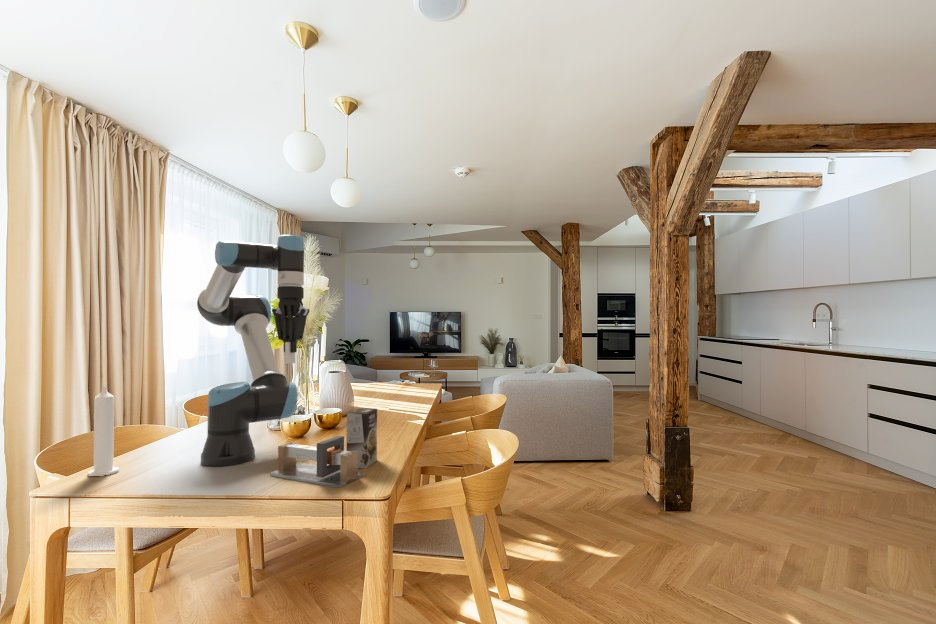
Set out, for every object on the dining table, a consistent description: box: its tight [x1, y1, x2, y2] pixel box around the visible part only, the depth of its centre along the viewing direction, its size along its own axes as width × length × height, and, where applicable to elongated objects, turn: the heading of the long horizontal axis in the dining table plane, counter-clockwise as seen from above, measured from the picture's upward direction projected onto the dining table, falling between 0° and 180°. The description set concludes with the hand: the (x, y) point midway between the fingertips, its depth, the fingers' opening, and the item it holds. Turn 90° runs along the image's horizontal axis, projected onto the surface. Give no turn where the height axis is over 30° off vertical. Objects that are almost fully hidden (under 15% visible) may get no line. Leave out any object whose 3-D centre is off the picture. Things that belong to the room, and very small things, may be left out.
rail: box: [269, 441, 365, 489], centre depth 137 cm, size 24×11×8 cm, turn 66°
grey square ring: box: [316, 435, 345, 478], centre depth 135 cm, size 2×9×9 cm, turn 156°
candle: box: [87, 384, 120, 477], centre depth 139 cm, size 7×7×25 cm
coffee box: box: [345, 407, 378, 469], centre depth 148 cm, size 9×6×16 cm
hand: (290, 363), depth 149 cm, fingers closed
